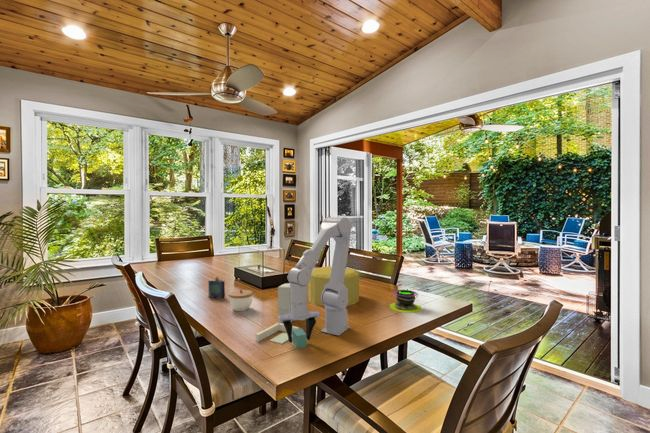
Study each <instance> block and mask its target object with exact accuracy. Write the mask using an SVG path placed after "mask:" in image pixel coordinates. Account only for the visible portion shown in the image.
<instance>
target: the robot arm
mask: <svg viewBox="0 0 650 433" xmlns="http://www.w3.org/2000/svg"><path fill="white" fill-rule="evenodd" d="M320 227H321V229H320V231H319V233H318V234H317V236H316V238H315V239H314V242H313V243H312V245H311V247H310V248H309V249H306V250H305V251H303V253H302V256H301V257H300V259H299V260H298V261H297V263H296V264H295V266H293V267H292V268H291V269H290V270H289V272H288V275H287V276H286V278H287V280H288V282H289V283H290V287H291V313H289V314H285V315H281V316H278V315H277V322H278V323H282V324H284V326H285V329H286V331H287V332H286V333H287V335H288V342H289V343H291V344H293V342H292V326H293V324H292V322H294V321H305V327H306V328H305V333H306V338H307V341H310V340H311V335H312V332H313V329H314V327H315V325H316V324H317V320H316V319H320V314H321V313H320V312H319V311H318V310H317V311H308V285H309V282H310V280H311V274H312V270H313V269H315V267H316V265H317V263H318V262H319V260H320V255H319V254H320V253H321V251H322V250H323V249H324V247H325V246H326V244H327V243H328V242H329V240H330V239H331V238H332V239H333V240H334V242H335V243H334V244H335V245H334V252H333V258H332V264H331V267H332V269H331V276H330V282H329V283H327V284H326V285H325V286H324V290H323V292H322V295H321V301H322V303H323V304H324V306H323V307H324V308H325V309H324V312H325V313H324V316H325V317H324V324H325V325H324V328H322V329H321V330H320V332H321V333H326V334H330V335H333V336H340V335H343V333H344V332H346V331H347V330H348V329H350V325H348V310H347V307H348V306H347V304H348V289H347V288H346V287H345V285H344V284H343V283H344V276H345V270H346V268H347V263H348V255H349V249H350V241H351V232H352V223H351V221H350V220H349V218H347V217H334V216H326V217H325V218H324V219H323V222H321V224H320ZM334 290H336V291H334ZM291 321H292V322H291Z"/></svg>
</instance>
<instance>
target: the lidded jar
mask: <svg viewBox="0 0 650 433" xmlns="http://www.w3.org/2000/svg"><path fill="white" fill-rule="evenodd" d="M253 295H254V294H253V290H249V289H242V288H240V289H238V290H233V291H230V292H229V293H228V296H229V297H228V298H229V300H228V302H229V303H230V307H231V308H232V309H233V310H234V312H244V311H247V310H248V309H249V308H250V307H251V305H252V303H253Z"/></svg>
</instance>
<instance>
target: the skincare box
mask: <svg viewBox="0 0 650 433" xmlns="http://www.w3.org/2000/svg"><path fill="white" fill-rule="evenodd" d="M277 305H278V306H277V317H278V316H281V315H285V314H289V313H291V287H290V282H289V283H288V282H286V283H283V284H281V285H279V286H278V287H277ZM292 322H293V321H291V323H292Z"/></svg>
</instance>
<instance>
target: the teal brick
mask: <svg viewBox="0 0 650 433" xmlns="http://www.w3.org/2000/svg"><path fill="white" fill-rule="evenodd" d="M307 341H308V339H307V338H306V331H304V329H303V328H302V327H301V328H300V327H299V329H292V344H293V345H294V347H295V348H296V349H304V348H307Z"/></svg>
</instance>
